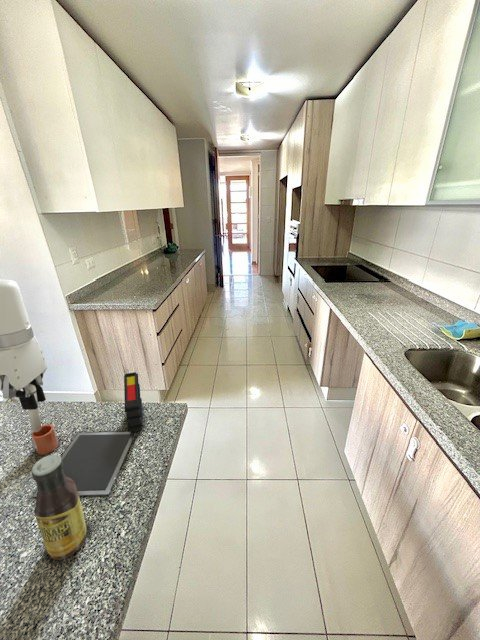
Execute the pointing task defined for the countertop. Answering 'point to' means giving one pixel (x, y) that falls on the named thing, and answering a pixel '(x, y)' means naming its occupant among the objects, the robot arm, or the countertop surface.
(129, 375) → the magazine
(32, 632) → the countertop surface
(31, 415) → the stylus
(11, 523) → the countertop surface
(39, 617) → the countertop surface
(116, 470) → the tablet
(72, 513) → the sauce bottle
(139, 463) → the countertop surface
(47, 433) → the holder
